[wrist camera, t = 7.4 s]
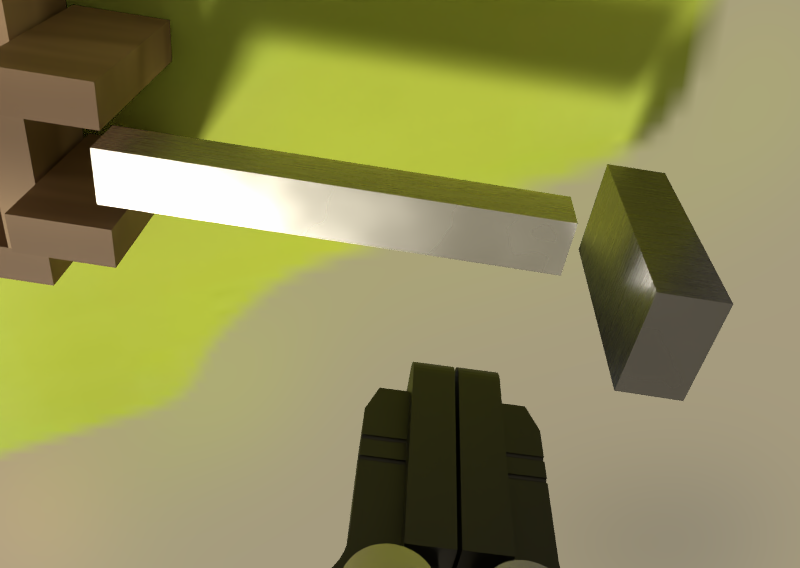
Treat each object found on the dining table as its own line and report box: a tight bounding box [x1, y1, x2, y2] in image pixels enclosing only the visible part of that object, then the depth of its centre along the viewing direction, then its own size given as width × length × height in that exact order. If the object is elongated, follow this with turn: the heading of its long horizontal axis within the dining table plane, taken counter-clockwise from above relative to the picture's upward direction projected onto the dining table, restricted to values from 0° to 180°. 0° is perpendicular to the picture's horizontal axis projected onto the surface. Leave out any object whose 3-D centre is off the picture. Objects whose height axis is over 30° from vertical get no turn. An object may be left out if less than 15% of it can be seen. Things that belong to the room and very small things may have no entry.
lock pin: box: [90, 125, 733, 401], centre depth 18 cm, size 3×15×6 cm, turn 82°
